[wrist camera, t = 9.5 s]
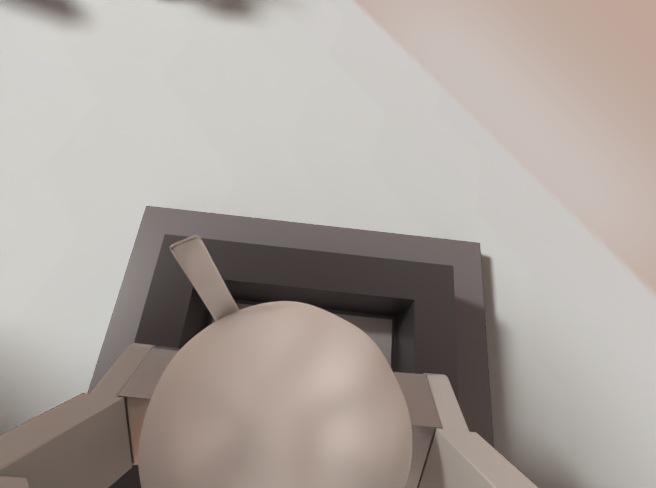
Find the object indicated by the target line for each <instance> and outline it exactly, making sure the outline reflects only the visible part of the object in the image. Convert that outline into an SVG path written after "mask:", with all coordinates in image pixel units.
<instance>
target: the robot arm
mask: <svg viewBox="0 0 656 488" xmlns="http://www.w3.org/2000/svg"><path fill="white" fill-rule="evenodd" d="M180 349H181V348H175V347H167V346H159V345H156V346H155V345H148V344H140V343H133V344H131V345H129V346H128V347H127V349H126V350H125V351H124V352H123V353H122V355H121V356H120V357H119V358H118V360H117V361H116V362H115V363H114V365H113V366H112V367H111V368H110V369H109V371H108V372H107V373H106V374H105V376H104V377H103V378H102V379H101V381H100V382H99V383H98V384H97V386H96V387H95V388H94V389H93V390H92V392H91V393H90V394H85V393H82V394H80V395H78V396H76V397H74V398H72V399H70V400H68V401H66V402H64V403H63V404H61V405H59V406H57V407H55V408H53V409H51V410H49V411H47V412H45V413H43V414H41V415H39V416H37V417H35V418H33V419H31V420H29V421H27V422H25V423H23V424H21V425H19V426H17V427H15V428H13V429H11V430H9V431H7V432H5V433H3V434H1V435H0V488H109V487H110V486H111V485H112V484H113V483H114V482H116V481H117V480H118V479H119V478H120V477H121V476H123V475H124V474H125V473H126V472H127V471H128V470H129V469H131V468H132V465H138V449H139V441H140V435H141V430H142V426H143V422H144V418H145V415H146V411H147V408H148V405H149V403H150V400H151V397H152V395H153V392H154V390H155V388H156V386H157V384H158V381H159V379H160V378H161V376H162V374H163V372H164V371H165V369H166V367H167V366H168V364H169V363H170V361H171V360H172V359H173V357H174V356H175V355H176V354H177V353H178V351H179V350H180ZM393 373H394V375H395V377H396V379H397V381H398V384H399V386H400V388H401V390H402V393H403V395H404V398H405V401H406V404H407V407H408V411H409V415H410V421H411V428H412V460H411V466H410V471H409V476H408V480H407V483H406V486H405V488H538V487H537V486H536V485H535V484H534V483H532V482H531V481H530V480H529V479H528V478H527V477H526V476H525V475H523V474H522V473H521V472H520V471H519V470H518V469H517V468H516V467H514V466H513V465H512V464H511V463H510V462H509V461H508V460H507V459H505V458H504V457H503V456H502V455H501V454H500V453H499V452H498V451H496V450H495V449H494V448H493V447H492V446H491V445H490V444H489V443H488V442H486V441H485V440H484V439H483V438H482V437H481V436H480V435H479V434H477V433H476V432H469V429H468V427H467V424H466V422H465V419H464V417H463V414H462V412H461V409H460V407H459V404H458V402H457V399H456V397H455V394H454V391H453V389H452V386H451V384H450V381H449V379H448V377H447V376H446V375H443V374H430V373H423V374H422V373H413V372H403V371H393Z"/></svg>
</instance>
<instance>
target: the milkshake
mask: <svg viewBox="0 0 656 488" xmlns="http://www.w3.org/2000/svg"><path fill="white" fill-rule="evenodd" d="M170 250H171V252H172V254H173V255H174V257H175V259H176V260H177V262H178V263H179V265H180V267H181V268H182V270H183V271H184V273H185V274H186V276H187V278H188V279H189V281H190V282H191V284H192V285H193V287H194V288H195V290H196V292H197V293H198V295H199V296H200V298H201V299H202V301H203V303H204V304H205V306H206V307H207V309H208V310H209V312H210V314H211V315H212V317H213V318H214V320H215V322H214V323H212V324H211V325H209V326H208V327H206V328H205V329H203V330H202V331H201V332H199V333H198V334H197V335H196V336H194V337H193V338H192V339H191V340H190V341H188V342H187V343H186V344H185V345H184V346H183V347H182V348H181V349H180V350H179V351H178V353H177V354H176V355H175V356H174V357H173V359H172V360H171V361H170V363H169V364H168V366H167V367H166V369H165V371H164V372H163V374H162V376H161V378H160V379H159V381H158V384H157V386H156V388H155V390H154V392H153V395H152V397H151V400H150V403H149V405H148V408H147V411H146V415H145V418H144V422H143V426H142V430H141V435H140V441H139V449H138V468H139V476H140V483H141V488H405V486H406V483H407V480H408V476H409V471H410V466H411V460H412V428H411V421H410V415H409V411H408V407H407V404H406V401H405V398H404V395H403V393H402V390H401V388H400V386H399V384H398V381H397V379H396V377H395V375H394V373H393V371H392V369H391V367H390V365H389V364H388V362H387V360H386V358H385V356H384V355H383V353H382V352H381V350H380V349H379V347H378V346H377V345H376V344H375V342H374V341H373V340H372V339H371V338H370V337H369V336H368V335H367V334H366V333H364V332H363V331H362V330H361V329H359V328H358V327H356V326H355V325H353V324H351V323H350V322H348V321H346V320H344V319H342V318H340V317H338V316H336V315H334V314H332V313H330V312H328V311H326V310H323V309H321V308H318V307H316V306H313V305H310V304H306V303H301V302H294V301H275V302H268V303H262V304H258V305H254V306H250V307H247V308H244V309H241V310H239V308H238V306H237V305H236V303H235V301H234V299H233V297H232V295H231V293H230V291H229V290H228V288H227V286H226V284H225V282H224V280H223V278H222V276H221V275H220V273H219V271H218V269H217V267H216V265H215V263H214V261H213V260H212V258H211V256H210V254H209V252H208V250H207V248H206V247H205V245H204V243H203V241H202V240H201V238H200V237H199V236H198V235H193V236H191V237H188V238H186V239H183V240H181V241H179V242H176V243H174V244H172V245H171V246H170Z"/></svg>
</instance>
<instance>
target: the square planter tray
mask: <svg viewBox="0 0 656 488" xmlns="http://www.w3.org/2000/svg"><path fill="white" fill-rule="evenodd" d="M193 235H198V236H199V237H200V238H201V240H202V241H203V243H204V245H205V247H206V248H207V250H208V252H209V254H210V256H211V258H212V260H213V261H214V263H215V265H216V267H217V269H218V271H219V273H220V275H221V276H222V278H223V280H224V282H225V284H226V286H227V288H228V290H229V291H230V293H231V295H232V297H233V299H234V301H235V303H236V305H237V306H238V308H239V310H241V309H244V308H247V307H250V306H254V305H258V304H262V303H268V302H275V301H294V302H301V303H306V304H310V305H313V306H316V307H318V308H321V309H323V310H326V311H328V312H330V313H332V314H334V315H336V316H338V317H340V318H342V319H344V320H346V321H348V322H350V323H351V324H353V325H355V326H356V327H358V328H359V329H361V330H362V331H363V332H364V333H366V334H367V335H368V336H369V337H370V338H371V339H372V340H373V341H374V342H375V344H376V345H377V346H378V347H379V349H380V350H381V352H382V353H383V355H384V356H385V358H386V360H387V362H388V364H389V365H390V367H391V369H392V371H403V372H413V373H422V374H423V373H430V374H443V375H446V376H447V377H448V379H449V381H450V384H451V386H452V389H453V391H454V394H455V397H456V399H457V402H458V404H459V407H460V409H461V412H462V414H463V417H464V419H465V422H466V424H467V427H468V429H469V432H476V433H477V434H479V435H480V436H481V437H482V438H483V439H484V440H485V441H486V442H488V443H489V444H490V445H491V446H492V447H493V448H494V445H493V431H492V416H491V401H490V386H489V371H488V356H487V341H486V326H485V311H484V296H483V281H482V266H481V251H480V243H475V242H466V241H457V240H448V239H439V238H430V237H421V236H412V235H403V234H394V233H385V232H376V231H367V230H359V229H350V228H341V227H332V226H323V225H314V224H305V223H296V222H287V221H278V220H269V219H260V218H251V217H242V216H233V215H224V214H215V213H206V212H197V211H188V210H179V209H170V208H161V207H152V206H146V209H145V212H144V215H143V218H142V221H141V224H140V228H139V231H138V234H137V237H136V240H135V244H134V247H133V250H132V253H131V256H130V259H129V263H128V266H127V269H126V272H125V275H124V279H123V282H122V285H121V288H120V291H119V295H118V298H117V301H116V304H115V307H114V310H113V314H112V317H111V320H110V323H109V326H108V330H107V333H106V336H105V339H104V342H103V345H102V349H101V352H100V355H99V358H98V361H97V365H96V368H95V371H94V374H93V377H92V380H91V384H90V387H89V390H88V393H87V394H90V393H91V392H92V390H93V389H94V388H95V387H96V386H97V384H98V383H99V382H100V381H101V379H102V378H103V377H104V376H105V374H106V373H107V372H108V371H109V369H110V368H111V367H112V366H113V365H114V363H115V362H116V361H117V360H118V358H119V357H120V356H121V355H122V353H123V352H124V351H125V350H126V349H127V347H128V346H129V345H131V344H133V343H140V344H148V345H155V346H156V345H159V346H167V347H175V348H182V347H183V346H184V345H185V344H186V343H187V342H188V341H190V340H191V339H192V338H193V337H194V336H196V335H197V334H198V333H199V332H201V331H202V330H203V329H205V328H206V327H208V326H209V325H211V324H212V323H214V322H215V320H214V318H213V317H212V315H211V314H210V312H209V310H208V309H207V307H206V306H205V304H204V303H203V301H202V299H201V298H200V296H199V295H198V293H197V292H196V290H195V288H194V287H193V285H192V284H191V282H190V281H189V279H188V278H187V276H186V274H185V273H184V271H183V270H182V268H181V267H180V265H179V263H178V262H177V260H176V259H175V257H174V255H173V254H172V252H171V250H170V246H171V245H172V244H174V243H176V242H179V241H181V240H183V239H186V238H188V237H191V236H193ZM109 488H141V483H140V476H139V468H138V465H132V468H131V469H129V470H128V471H127V472H126V473H125V474H124V475H123V476H121V477H120V478H119V479H118V480H117V481H116V482H114V483H113V484H112V485H111V486H110V487H109Z"/></svg>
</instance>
